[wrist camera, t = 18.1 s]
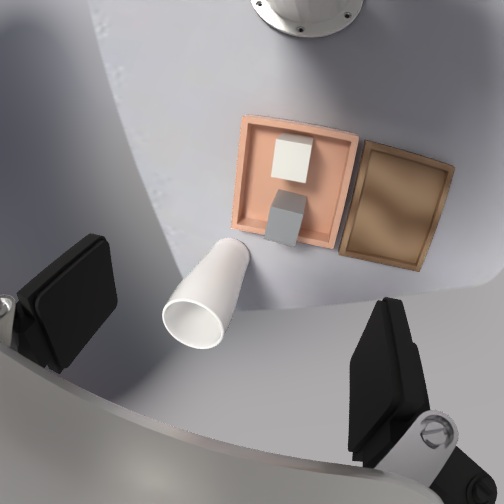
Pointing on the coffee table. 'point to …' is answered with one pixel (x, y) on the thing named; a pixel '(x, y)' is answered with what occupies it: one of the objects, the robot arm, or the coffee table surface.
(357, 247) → the tray
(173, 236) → the coffee table surface
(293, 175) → the light grey rectangular box
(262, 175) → the dish
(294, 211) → the grey rectangular block
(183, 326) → the drinking glass
